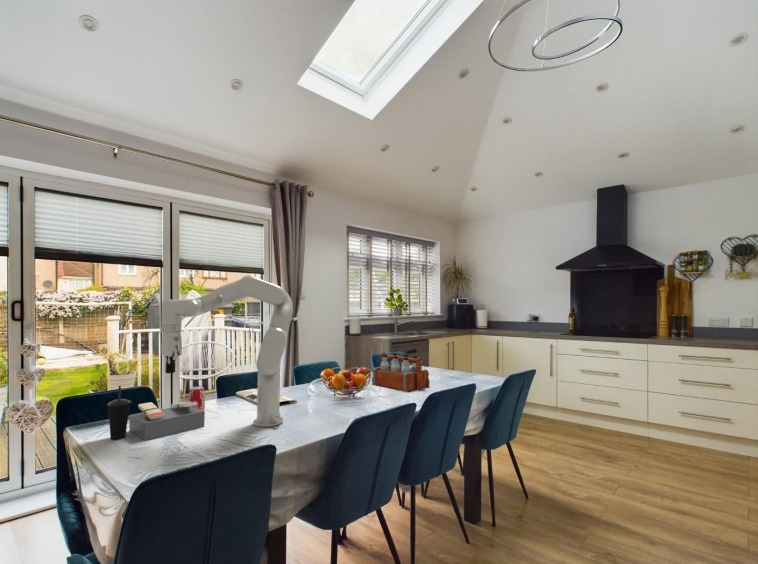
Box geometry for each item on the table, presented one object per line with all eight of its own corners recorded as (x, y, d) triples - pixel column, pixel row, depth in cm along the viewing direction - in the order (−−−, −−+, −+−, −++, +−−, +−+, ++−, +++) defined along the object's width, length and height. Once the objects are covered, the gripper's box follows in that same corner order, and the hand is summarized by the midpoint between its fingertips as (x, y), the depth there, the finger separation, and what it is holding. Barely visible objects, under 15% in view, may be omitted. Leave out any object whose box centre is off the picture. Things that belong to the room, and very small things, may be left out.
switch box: (204, 426, 171) (204, 408, 171) (144, 440, 153) (145, 420, 154) (181, 416, 185) (181, 399, 186) (124, 428, 168) (125, 409, 168)
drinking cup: (112, 442, 151) (114, 388, 152) (102, 439, 155) (104, 386, 156) (133, 437, 158) (135, 385, 158) (123, 433, 162) (125, 383, 163)
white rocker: (197, 405, 170) (197, 401, 170) (185, 407, 166) (185, 403, 167) (183, 405, 179) (182, 401, 179) (171, 407, 175) (171, 403, 176)
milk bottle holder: (410, 393, 235) (410, 359, 236) (369, 384, 260) (369, 353, 261) (432, 387, 250) (432, 356, 251) (391, 379, 275) (391, 351, 275)
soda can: (198, 415, 187) (199, 389, 187) (184, 414, 188) (185, 388, 188) (207, 411, 193) (208, 386, 194) (194, 410, 195) (195, 385, 195)
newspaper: (235, 396, 227) (235, 391, 227) (267, 391, 239) (268, 386, 240) (265, 409, 199) (265, 404, 199) (299, 403, 212) (299, 398, 212)
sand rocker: (164, 417, 160) (164, 413, 160) (150, 420, 157) (151, 416, 157) (151, 405, 170) (151, 401, 170) (138, 407, 166) (138, 403, 166)
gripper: (188, 329, 168) (187, 373, 167) (173, 327, 178) (172, 369, 177) (169, 330, 162) (168, 376, 161) (154, 328, 172) (153, 371, 171)
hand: (170, 372), depth 169 cm, fingers closed
